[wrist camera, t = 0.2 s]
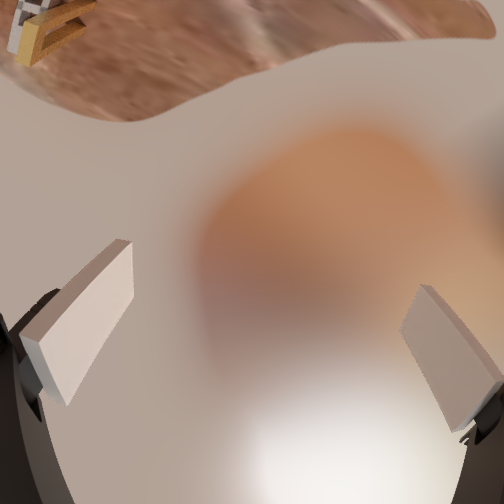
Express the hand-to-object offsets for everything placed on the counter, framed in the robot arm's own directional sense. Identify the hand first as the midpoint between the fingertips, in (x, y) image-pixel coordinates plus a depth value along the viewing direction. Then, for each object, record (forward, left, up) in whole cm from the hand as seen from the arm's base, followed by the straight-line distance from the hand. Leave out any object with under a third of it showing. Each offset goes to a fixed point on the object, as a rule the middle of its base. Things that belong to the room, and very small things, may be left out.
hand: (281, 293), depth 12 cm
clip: (-21, -25, -35) cm, 48 cm away
